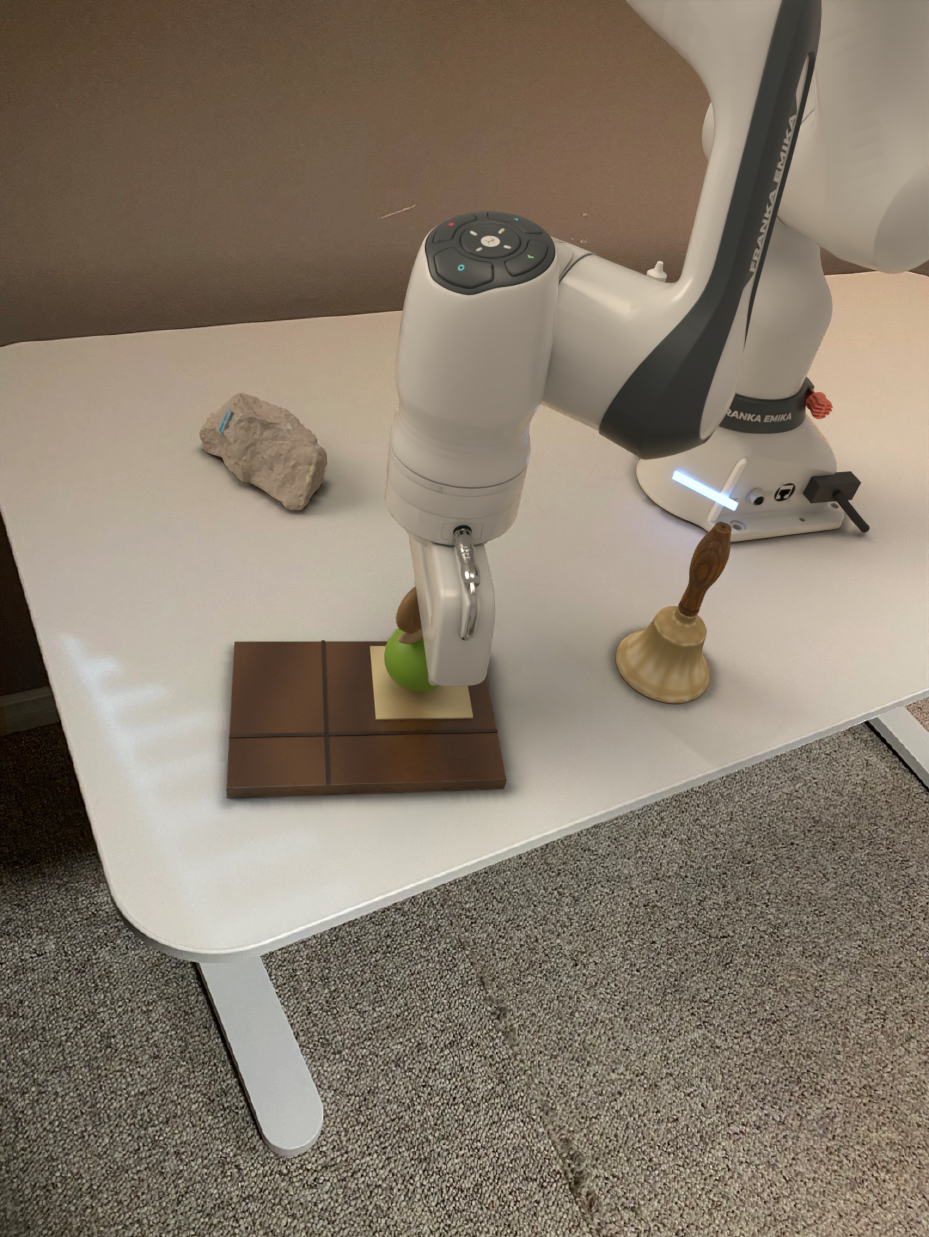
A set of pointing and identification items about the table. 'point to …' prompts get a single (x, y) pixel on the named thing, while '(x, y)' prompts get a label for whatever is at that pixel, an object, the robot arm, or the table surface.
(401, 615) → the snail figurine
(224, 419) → the concrete fragment
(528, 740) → the table surface
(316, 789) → the game board
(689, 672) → the hand bell
